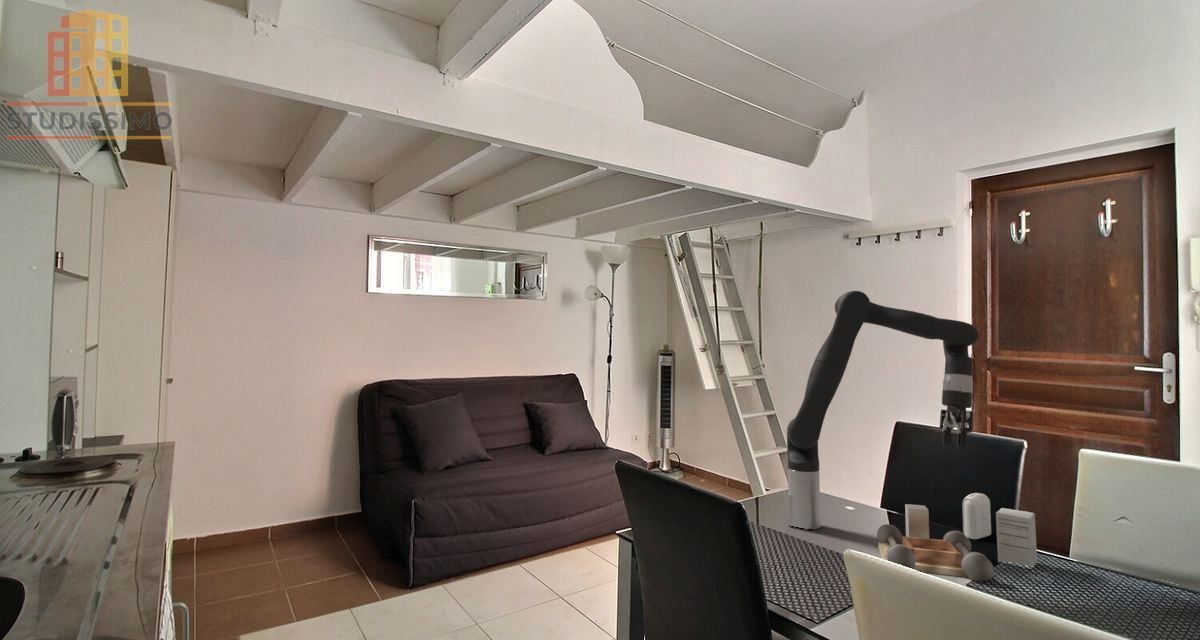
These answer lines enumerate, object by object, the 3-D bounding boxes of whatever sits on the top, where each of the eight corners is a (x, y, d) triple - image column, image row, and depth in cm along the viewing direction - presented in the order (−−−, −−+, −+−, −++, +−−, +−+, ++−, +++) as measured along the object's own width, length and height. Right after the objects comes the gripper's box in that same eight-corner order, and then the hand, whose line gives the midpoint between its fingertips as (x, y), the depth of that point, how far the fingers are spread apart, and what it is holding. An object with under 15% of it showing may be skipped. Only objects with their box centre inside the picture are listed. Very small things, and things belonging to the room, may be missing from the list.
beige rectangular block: (909, 544, 158) (908, 508, 159) (906, 539, 163) (905, 504, 164) (929, 546, 156) (928, 509, 157) (925, 541, 161) (924, 505, 162)
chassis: (888, 570, 138) (887, 545, 138) (877, 545, 157) (876, 523, 158) (994, 583, 130) (993, 556, 131) (969, 555, 150) (968, 531, 150)
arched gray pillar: (977, 531, 171) (976, 490, 172) (993, 535, 168) (991, 492, 169) (961, 537, 166) (959, 494, 167) (977, 541, 162) (975, 496, 163)
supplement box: (1003, 556, 149) (1001, 507, 150) (1038, 563, 144) (1035, 512, 145) (996, 562, 144) (994, 512, 145) (1033, 570, 139) (1030, 518, 140)
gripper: (932, 389, 175) (929, 442, 173) (955, 388, 161) (952, 445, 159) (958, 392, 174) (955, 446, 172) (984, 391, 160) (981, 449, 158)
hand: (954, 445), depth 165 cm, fingers open, 8 cm apart
